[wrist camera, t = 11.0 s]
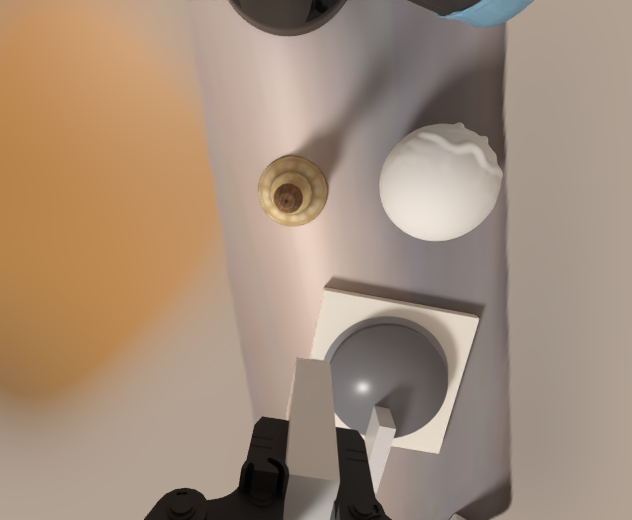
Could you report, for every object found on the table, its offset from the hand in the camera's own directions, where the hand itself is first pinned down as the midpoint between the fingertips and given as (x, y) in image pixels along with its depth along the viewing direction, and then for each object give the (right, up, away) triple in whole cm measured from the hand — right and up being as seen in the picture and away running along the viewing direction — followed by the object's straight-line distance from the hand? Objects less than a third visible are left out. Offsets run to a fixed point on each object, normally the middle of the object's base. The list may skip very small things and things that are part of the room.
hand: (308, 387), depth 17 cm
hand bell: (-2, +14, +30) cm, 33 cm away
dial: (+9, -12, +33) cm, 36 cm away
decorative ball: (+13, +15, +30) cm, 36 cm away
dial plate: (+9, -9, +35) cm, 37 cm away
